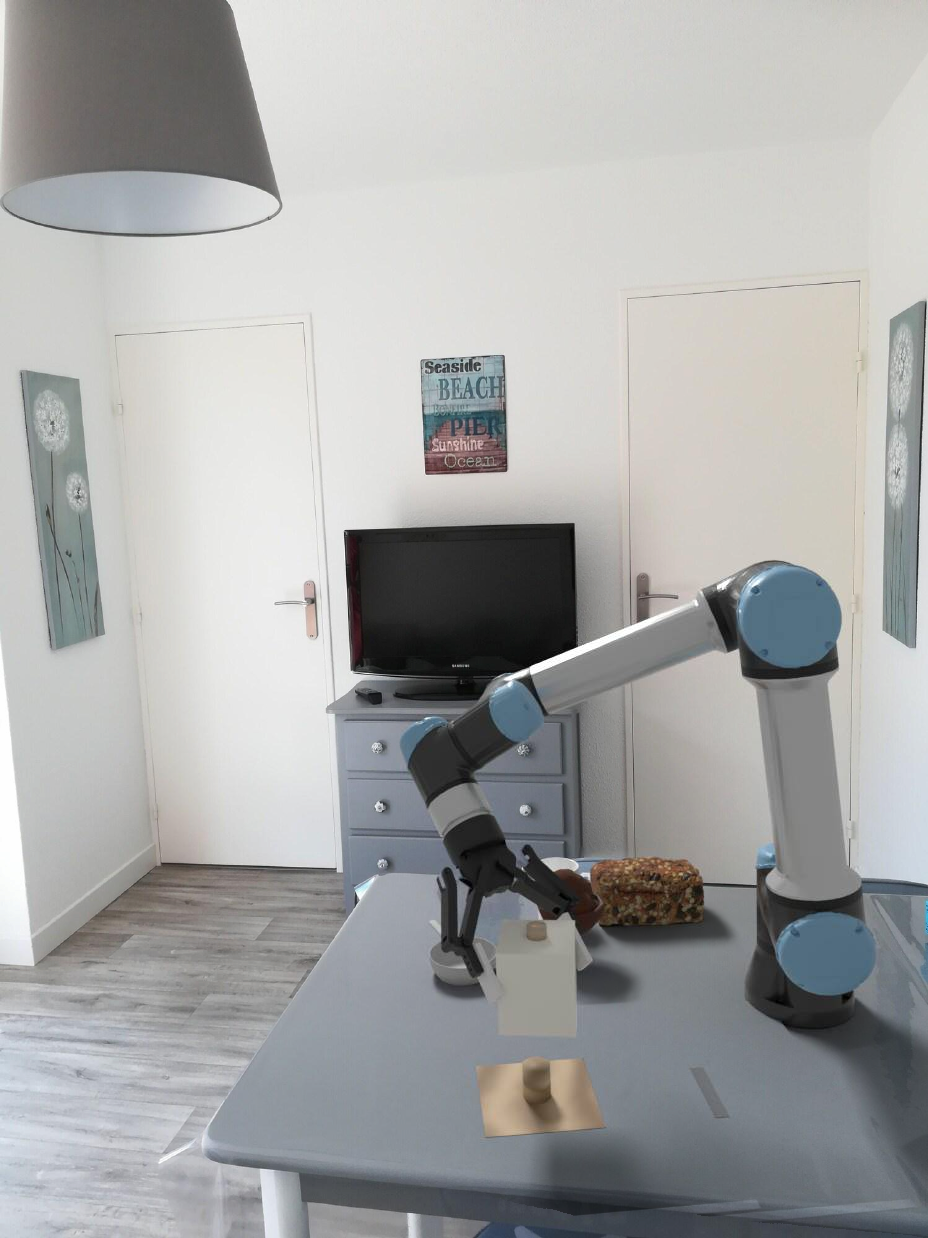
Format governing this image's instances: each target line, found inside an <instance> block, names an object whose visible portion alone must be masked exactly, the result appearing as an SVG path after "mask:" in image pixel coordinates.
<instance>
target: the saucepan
mask: <svg viewBox="0 0 928 1238" xmlns="http://www.w3.org/2000/svg"><path fill="white" fill-rule="evenodd" d="M428 925H430V927H431V928H433V930H434V931H435V932H436V933H437V934H438V935H439V936H440V937H441V924H439V922H438V921H437V920H435V919H431V920H429V921H428ZM479 942H480V943H481V945H482V947H483V949H484V951H485V954H486V956H487V958H488V960H489V962H490V964H491V967H492V969H493V970H494V969H495V968H496V950H497V945H495V944H494V943H493V942H491V941H490V940H487V939H485V938H481V937H477V936H474V940H473V943H472V944H473V946H474V945H475V944H476V943H479ZM429 962H430V967H431V969H432V970H433V973H435V974H436V976H437V977H438V979H439V978H440V979H439V980H440V981H442V982H443V983H446V984H448V983H450V984H449V985H452V984H454V985H453V986H471V985H476V984H475V983H477V984H479V983H480V982H479V980H478V978H477V977H476V978H472V977H471V976H470V974H469V972H468V970H467V968H466V965H465V963H464V961H463V959H462V956H457V955H455V953H454V952H452V951H450V952H448V953H445V952H443V951H442V949H441V941H439V942H437V943H435V944H434V945H432V947H431V948H430V950H429ZM478 982H479V983H478Z"/></svg>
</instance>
